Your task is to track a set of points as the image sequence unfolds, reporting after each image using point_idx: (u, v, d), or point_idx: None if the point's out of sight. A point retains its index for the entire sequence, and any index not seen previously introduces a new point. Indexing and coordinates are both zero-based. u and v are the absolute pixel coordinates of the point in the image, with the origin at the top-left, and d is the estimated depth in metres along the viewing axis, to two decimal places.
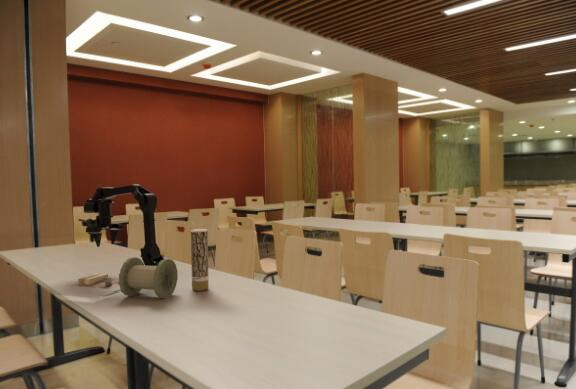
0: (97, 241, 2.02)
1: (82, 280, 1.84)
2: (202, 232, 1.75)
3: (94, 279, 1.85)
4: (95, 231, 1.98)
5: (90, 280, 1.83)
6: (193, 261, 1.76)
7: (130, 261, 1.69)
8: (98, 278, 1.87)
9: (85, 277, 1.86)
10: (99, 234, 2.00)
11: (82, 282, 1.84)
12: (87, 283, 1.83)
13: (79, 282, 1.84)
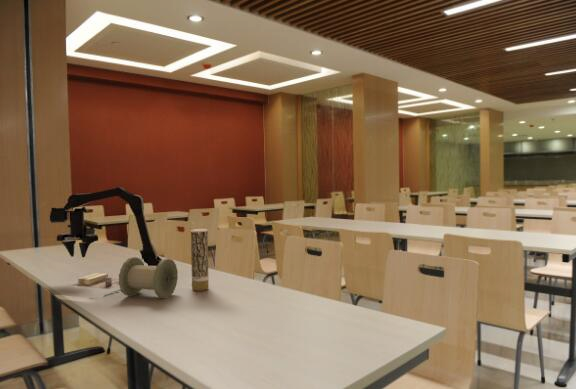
0: None
1: (82, 280, 1.84)
2: (202, 232, 1.75)
3: (94, 279, 1.85)
4: None
5: (90, 280, 1.83)
6: (193, 261, 1.76)
7: (130, 261, 1.69)
8: (98, 278, 1.87)
9: (85, 277, 1.86)
10: (63, 243, 1.90)
11: (82, 282, 1.84)
12: (87, 283, 1.83)
13: (79, 282, 1.84)
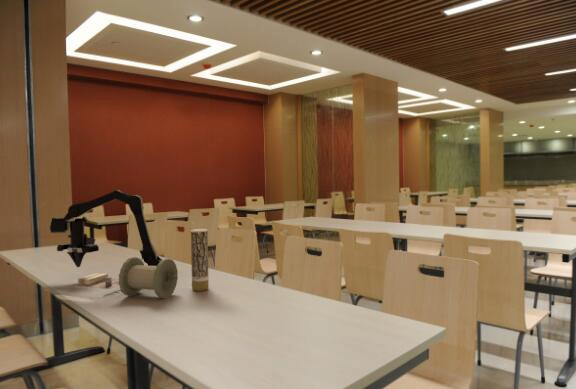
0: None
1: (82, 280, 1.84)
2: (202, 232, 1.75)
3: (94, 279, 1.85)
4: (57, 249, 1.91)
5: (90, 280, 1.83)
6: (193, 261, 1.76)
7: (130, 261, 1.69)
8: (98, 278, 1.87)
9: (85, 277, 1.86)
10: None
11: (82, 282, 1.84)
12: (87, 283, 1.83)
13: (79, 282, 1.84)
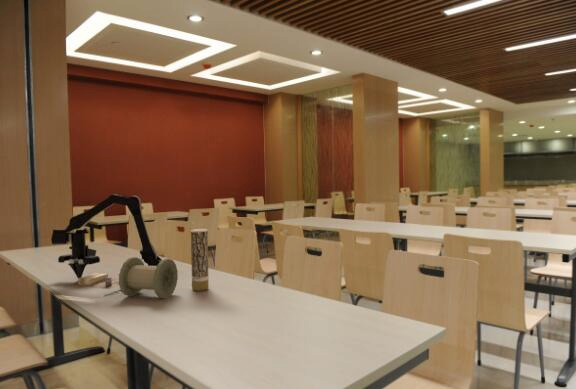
0: None
1: (82, 280, 1.84)
2: (202, 232, 1.75)
3: (94, 279, 1.85)
4: (58, 260, 1.91)
5: (90, 280, 1.83)
6: (193, 261, 1.76)
7: (130, 261, 1.69)
8: (98, 278, 1.87)
9: (85, 277, 1.86)
10: (70, 265, 1.89)
11: (82, 282, 1.84)
12: (87, 283, 1.83)
13: (79, 282, 1.84)
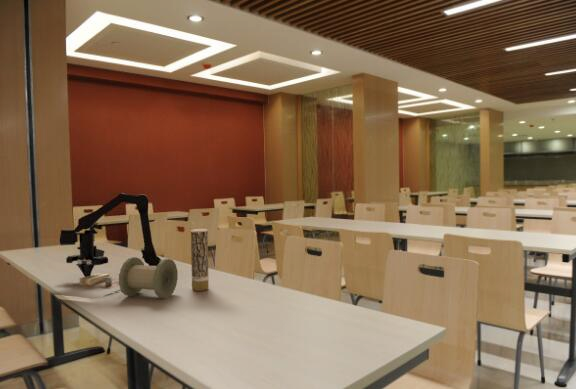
0: None
1: (83, 280, 1.83)
2: (202, 232, 1.75)
3: (95, 279, 1.85)
4: (66, 261, 1.90)
5: (91, 280, 1.83)
6: (193, 261, 1.76)
7: (130, 261, 1.69)
8: (99, 278, 1.87)
9: (86, 277, 1.86)
10: (78, 266, 1.88)
11: (83, 282, 1.83)
12: (88, 283, 1.82)
13: (80, 282, 1.84)
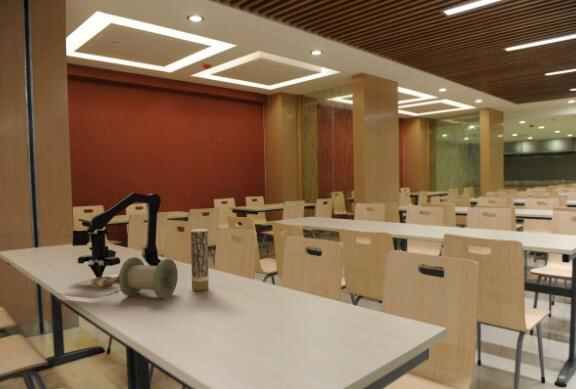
0: None
1: (95, 281, 1.81)
2: (202, 232, 1.75)
3: None
4: None
5: (103, 281, 1.80)
6: (193, 261, 1.76)
7: (130, 261, 1.69)
8: None
9: (98, 278, 1.83)
10: (90, 266, 1.85)
11: (95, 283, 1.81)
12: (100, 284, 1.80)
13: (92, 283, 1.82)
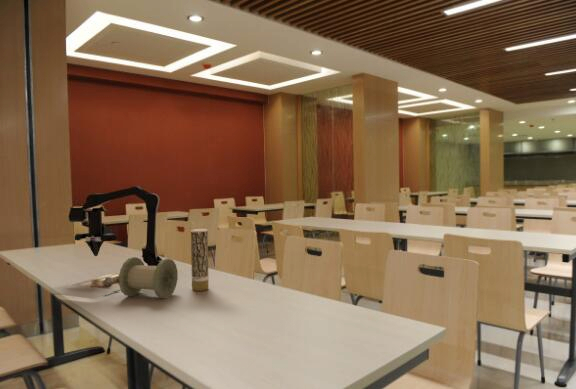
0: None
1: (95, 281, 1.81)
2: (202, 232, 1.75)
3: None
4: None
5: (103, 281, 1.80)
6: (193, 261, 1.76)
7: (130, 261, 1.69)
8: None
9: (98, 278, 1.83)
10: None
11: (95, 283, 1.81)
12: (100, 284, 1.80)
13: (92, 283, 1.82)
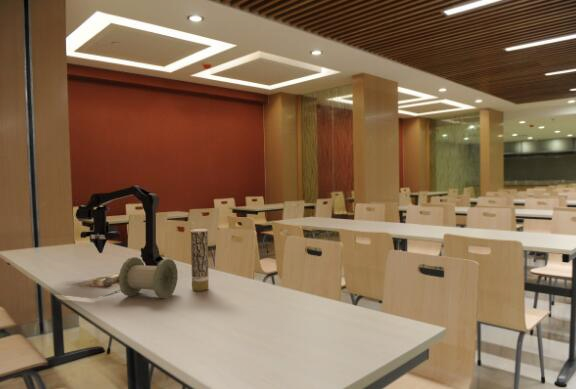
0: None
1: (95, 281, 1.81)
2: (202, 232, 1.75)
3: None
4: None
5: (103, 281, 1.80)
6: (193, 261, 1.76)
7: (130, 261, 1.69)
8: None
9: (98, 278, 1.83)
10: None
11: (95, 283, 1.81)
12: (100, 284, 1.80)
13: (92, 283, 1.82)
